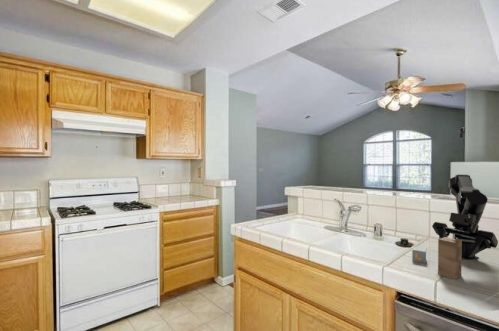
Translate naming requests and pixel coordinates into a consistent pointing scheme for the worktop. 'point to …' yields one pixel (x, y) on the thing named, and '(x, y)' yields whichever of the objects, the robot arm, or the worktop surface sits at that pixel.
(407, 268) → the worktop surface
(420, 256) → the letter block
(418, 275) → the worktop surface
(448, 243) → the walnut post
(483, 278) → the worktop surface
